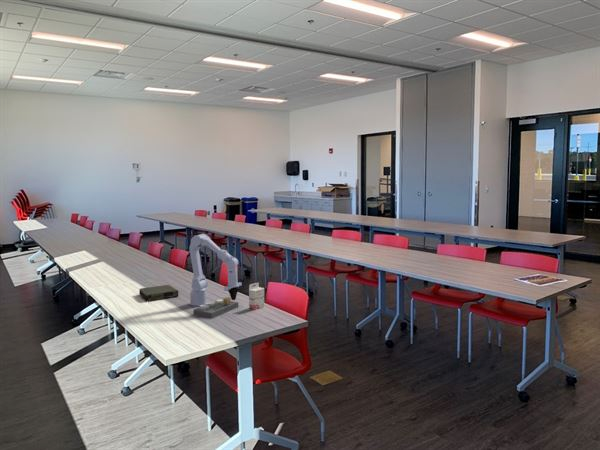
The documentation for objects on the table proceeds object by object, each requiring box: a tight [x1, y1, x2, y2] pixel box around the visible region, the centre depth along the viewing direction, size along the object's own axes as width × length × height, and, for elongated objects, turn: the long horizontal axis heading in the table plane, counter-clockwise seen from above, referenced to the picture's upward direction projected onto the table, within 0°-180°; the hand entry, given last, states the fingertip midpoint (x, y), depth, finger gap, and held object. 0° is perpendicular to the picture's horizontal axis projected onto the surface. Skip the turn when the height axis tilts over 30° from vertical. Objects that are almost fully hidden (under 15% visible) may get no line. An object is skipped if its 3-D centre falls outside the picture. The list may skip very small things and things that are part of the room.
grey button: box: [198, 305, 209, 310], centre depth 261 cm, size 4×4×2 cm
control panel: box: [192, 300, 239, 319], centre depth 266 cm, size 14×24×3 cm, turn 150°
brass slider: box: [222, 296, 232, 305], centre depth 268 cm, size 3×3×4 cm
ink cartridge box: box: [248, 282, 265, 311], centre depth 270 cm, size 9×5×15 cm, turn 141°
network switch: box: [138, 284, 179, 302], centre depth 303 cm, size 23×24×5 cm
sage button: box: [208, 301, 217, 307], centre depth 268 cm, size 4×4×2 cm
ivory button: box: [214, 298, 223, 304], centre depth 274 cm, size 4×4×2 cm
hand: (233, 299), depth 274 cm, fingers closed
